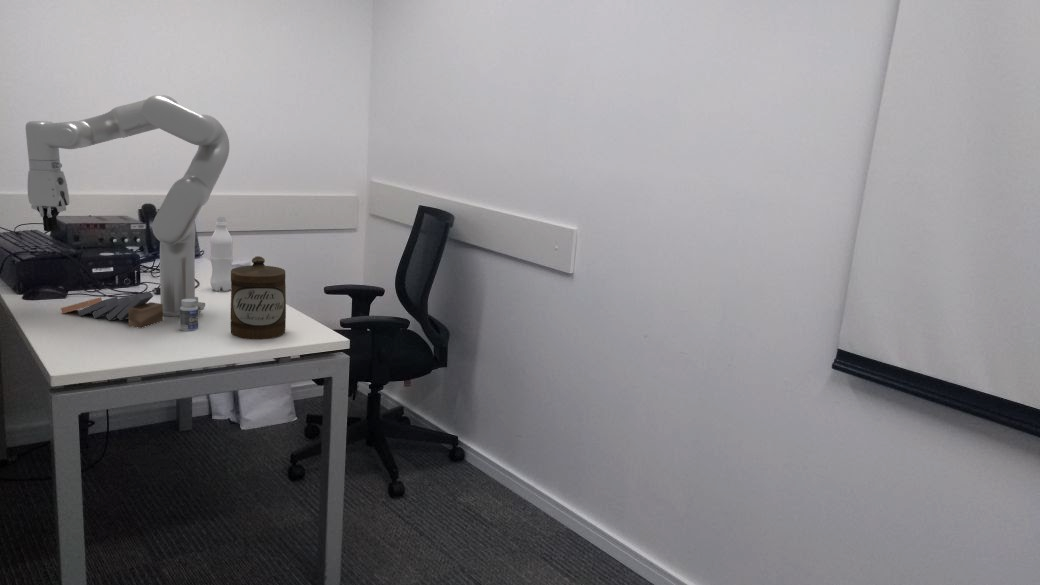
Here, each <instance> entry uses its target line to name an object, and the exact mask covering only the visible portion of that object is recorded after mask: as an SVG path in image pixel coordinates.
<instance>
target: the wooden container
mask: <svg viewBox="0 0 1040 585" xmlns="http://www.w3.org/2000/svg"><path fill="white" fill-rule="evenodd" d="M265 261H266V260H265V258H264V257H262V256H258V255H257V256H254V257H253V258H252V259H251V262H252V265H242V266H238V267H234V268H231V289H230V334H231V335H232V336H234V337H235V338H239V339H243V340H244V339H245V340H252V341H253V340H254V341H255V340H259V341H260V340H270V339H275V338H279V337H281V336H283V335H285V333H286V328H287V327H286V325H287V324H286V323H287V321H286V320H287V309H286V308H287V306H286V304H287V300H286V297H287V296H286V294H287V293H286V290H287V289H286V270H285V269H284V268H281V267H278V266H273V265H272V266H271V265H265V264H264V263H265Z"/></svg>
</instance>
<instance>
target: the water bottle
mask: <svg viewBox="0 0 1040 585" xmlns="http://www.w3.org/2000/svg"><path fill="white" fill-rule="evenodd" d="M215 225H216V227H215V230H214V232H212V236H210V241H209V243H210V256H209V257H210V258H209V260H210V263H211V268H212V270H211V277H210V279H209V280H210V281H209V283H210V286H211V288H212V289H213V290H214V291H215V292H220V290H221V289H222V291H223V292H228V291H229V290H230V291H231V270H232V263H233V261H234V259H233V238H232V236H231V234H230V232H229V230H228V228H227V225H228V223H227V217H226V216H217V217H216V222H215Z"/></svg>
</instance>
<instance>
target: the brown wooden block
mask: <svg viewBox="0 0 1040 585" xmlns="http://www.w3.org/2000/svg"><path fill="white" fill-rule="evenodd" d="M128 314H129V318H128V327H133V328H137V327H138V328H139V329H143V328H145V326H146V327H149V326H152V325H155V324H157V322H158V323H160V321H161V322H163V321H164V315H163V304H161V303H157V302H147V303H146V304H143V305H140V306H136V307H133V308H130V309H128ZM154 323H155V324H154ZM151 324H152V325H151ZM148 325H149V326H148ZM142 327H143V328H142Z"/></svg>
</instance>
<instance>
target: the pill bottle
mask: <svg viewBox="0 0 1040 585" xmlns="http://www.w3.org/2000/svg"><path fill="white" fill-rule="evenodd" d="M181 305H182V306H181V307H180V316H179V328H180V330H182V331H185V332H193V331H196V330H198V329H199V313H198V307H197V306H196V305H197V300H196V299H183V300H181Z"/></svg>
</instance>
